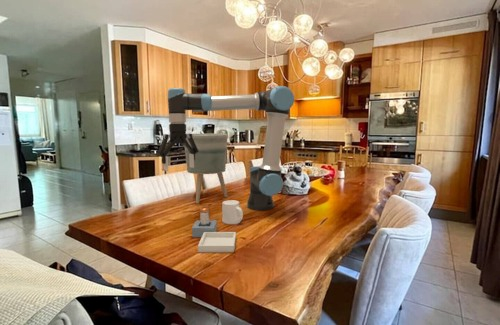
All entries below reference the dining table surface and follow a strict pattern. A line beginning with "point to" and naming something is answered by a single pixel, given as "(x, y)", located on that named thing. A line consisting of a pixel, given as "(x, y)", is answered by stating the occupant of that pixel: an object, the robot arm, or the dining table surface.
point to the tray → (217, 242)
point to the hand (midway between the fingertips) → (179, 169)
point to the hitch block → (203, 228)
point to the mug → (231, 212)
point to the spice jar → (204, 216)
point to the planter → (208, 158)
